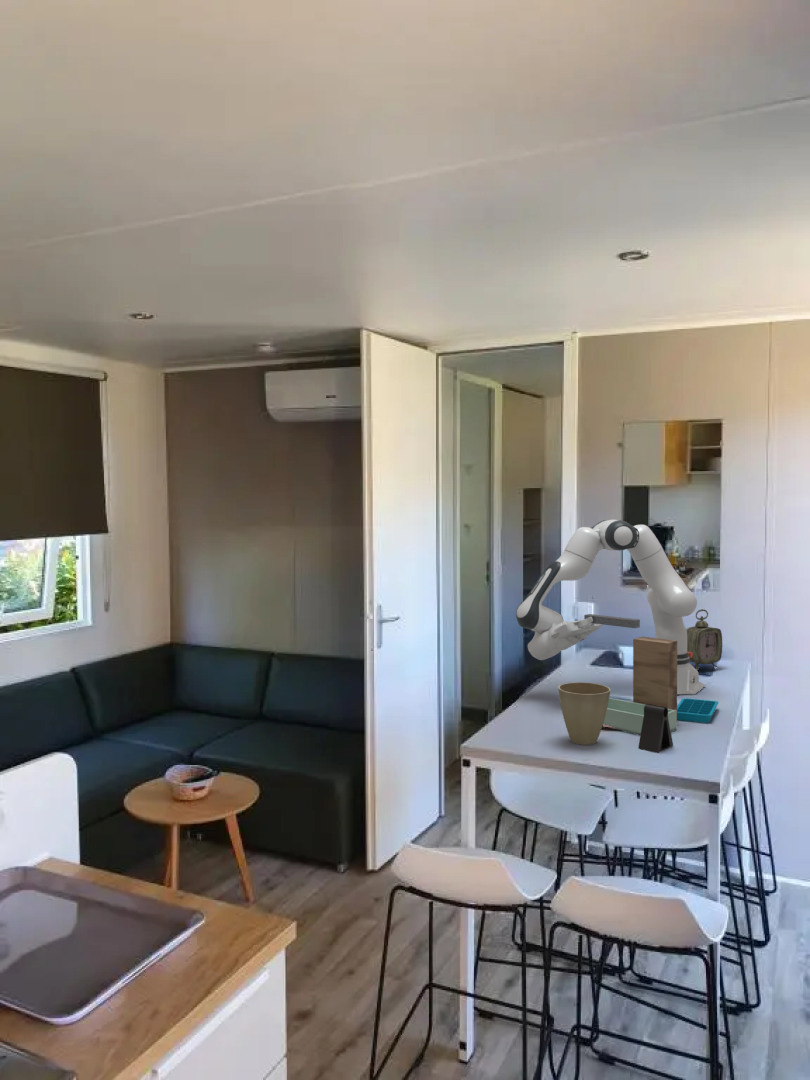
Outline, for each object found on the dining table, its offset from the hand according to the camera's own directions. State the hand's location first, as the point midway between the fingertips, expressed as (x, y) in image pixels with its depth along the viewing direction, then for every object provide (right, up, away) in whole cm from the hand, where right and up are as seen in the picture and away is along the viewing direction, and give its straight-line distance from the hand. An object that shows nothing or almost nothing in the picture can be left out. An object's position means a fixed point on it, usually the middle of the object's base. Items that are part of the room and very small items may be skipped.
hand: (596, 617), depth 279 cm
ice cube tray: (+31, -32, -7) cm, 45 cm away
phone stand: (+8, -33, -41) cm, 53 cm away
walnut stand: (+16, -32, -14) cm, 38 cm away
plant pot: (-11, -33, -35) cm, 49 cm away
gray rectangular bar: (+4, -2, -4) cm, 6 cm away
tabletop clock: (+56, -27, +60) cm, 87 cm away
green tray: (+5, -32, -18) cm, 37 cm away
